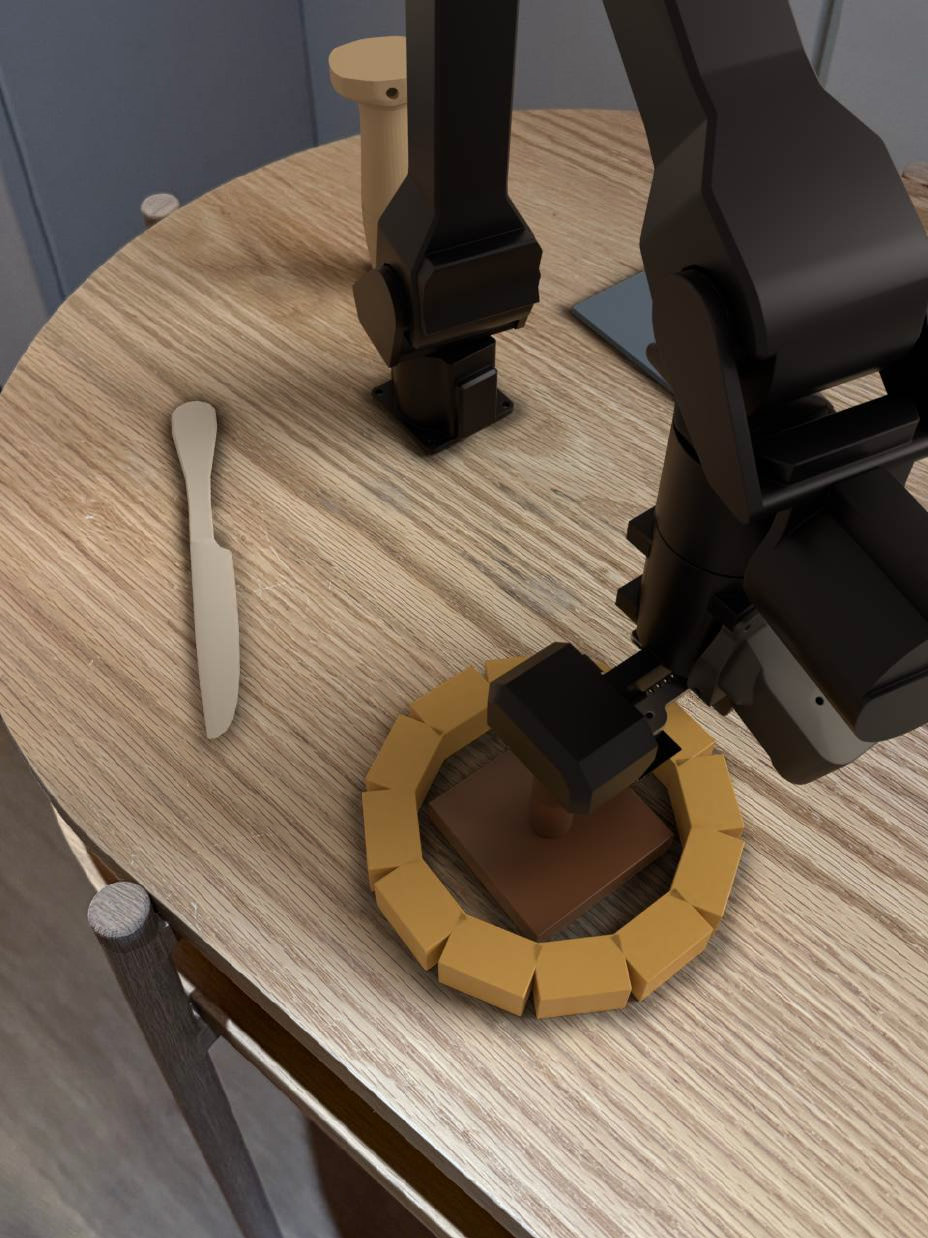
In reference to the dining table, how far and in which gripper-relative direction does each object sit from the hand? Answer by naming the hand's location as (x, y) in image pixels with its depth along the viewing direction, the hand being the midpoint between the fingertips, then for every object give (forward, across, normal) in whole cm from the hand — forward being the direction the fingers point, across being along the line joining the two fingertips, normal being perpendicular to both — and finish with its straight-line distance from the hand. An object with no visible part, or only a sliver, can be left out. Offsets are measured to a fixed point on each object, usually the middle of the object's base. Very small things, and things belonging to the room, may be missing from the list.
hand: (672, 742), depth 54 cm
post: (+2, -7, 0) cm, 7 cm away
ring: (+2, -7, 0) cm, 7 cm away
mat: (+1, +24, +22) cm, 33 cm away
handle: (+1, +11, +38) cm, 40 cm away
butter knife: (+1, -12, +25) cm, 27 cm away
